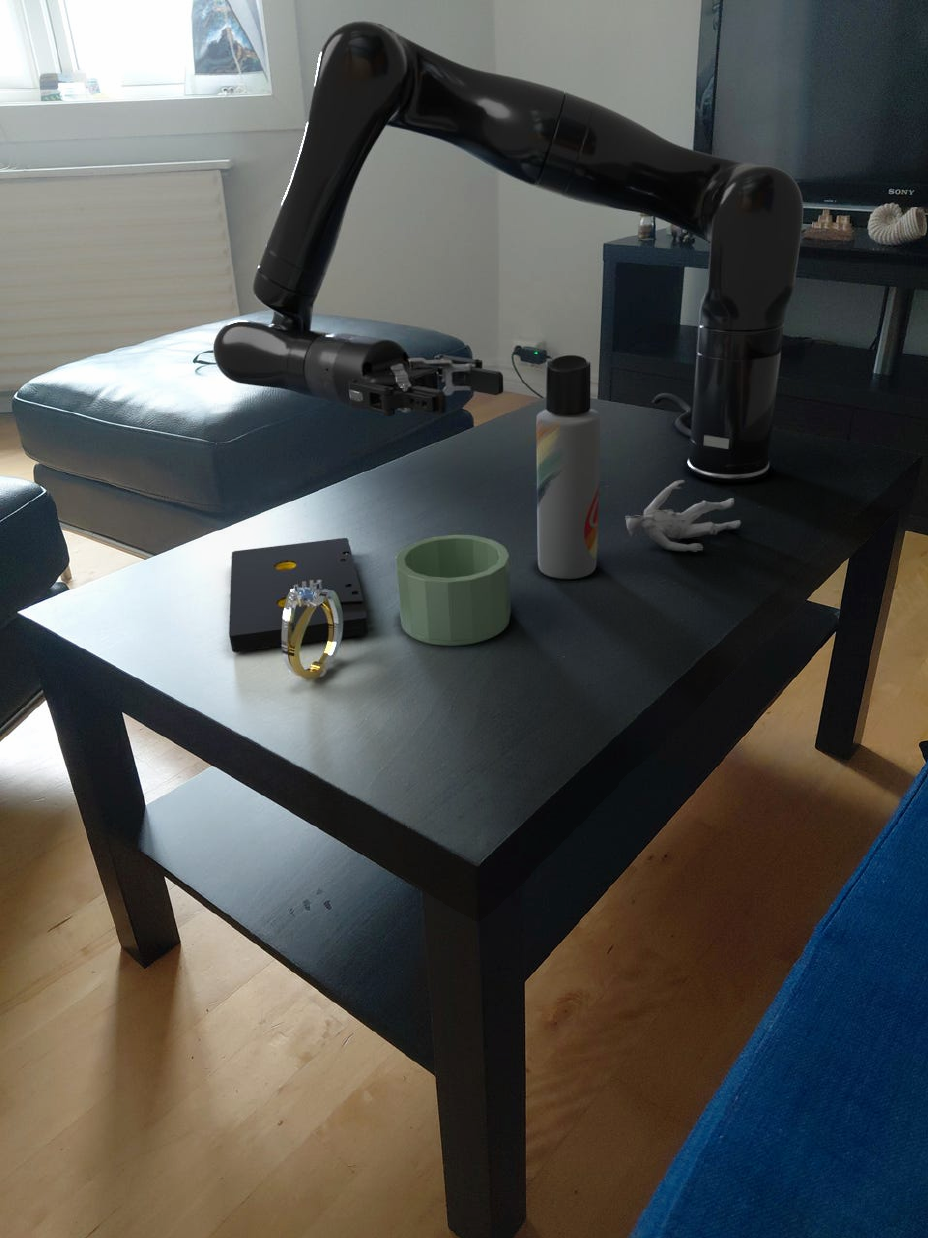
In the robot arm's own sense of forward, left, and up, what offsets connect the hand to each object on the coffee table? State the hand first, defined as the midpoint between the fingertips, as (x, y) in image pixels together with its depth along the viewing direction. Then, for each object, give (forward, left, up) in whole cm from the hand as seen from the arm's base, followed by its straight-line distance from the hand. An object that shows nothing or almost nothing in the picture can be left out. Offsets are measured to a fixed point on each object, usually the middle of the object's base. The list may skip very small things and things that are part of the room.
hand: (473, 393), depth 91 cm
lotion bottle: (+8, +7, -16) cm, 19 cm away
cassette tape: (+9, -19, -16) cm, 26 cm away
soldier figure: (+4, +20, -16) cm, 26 cm away
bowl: (+16, -5, -15) cm, 23 cm away
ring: (+23, -17, -16) cm, 33 cm away
